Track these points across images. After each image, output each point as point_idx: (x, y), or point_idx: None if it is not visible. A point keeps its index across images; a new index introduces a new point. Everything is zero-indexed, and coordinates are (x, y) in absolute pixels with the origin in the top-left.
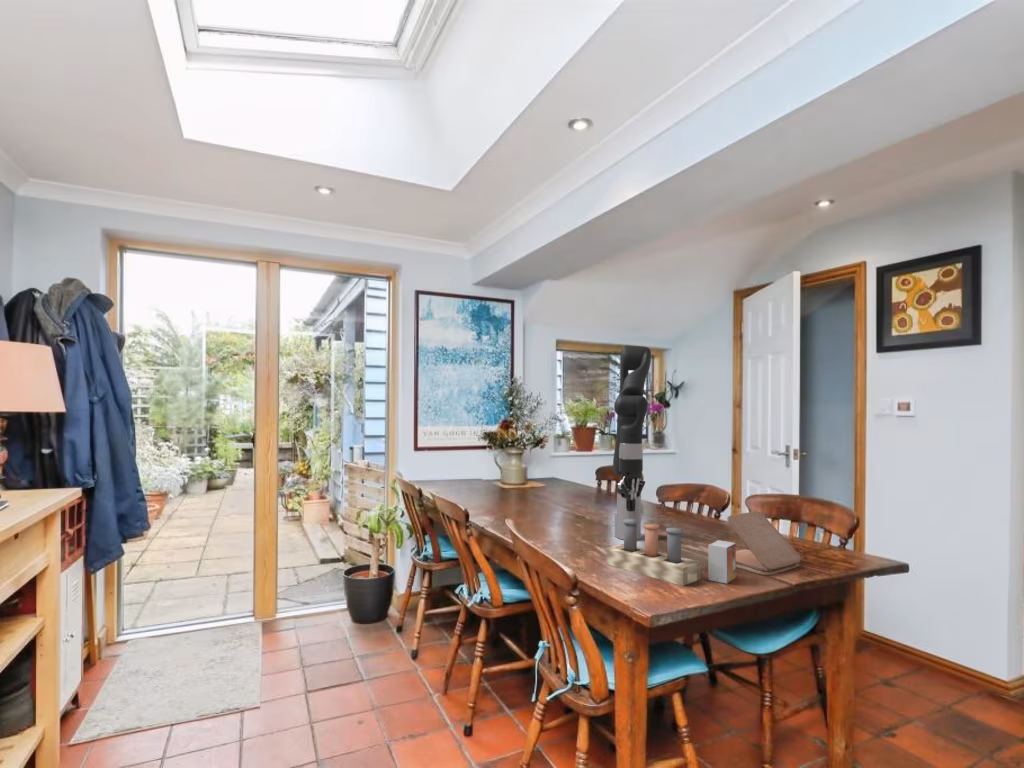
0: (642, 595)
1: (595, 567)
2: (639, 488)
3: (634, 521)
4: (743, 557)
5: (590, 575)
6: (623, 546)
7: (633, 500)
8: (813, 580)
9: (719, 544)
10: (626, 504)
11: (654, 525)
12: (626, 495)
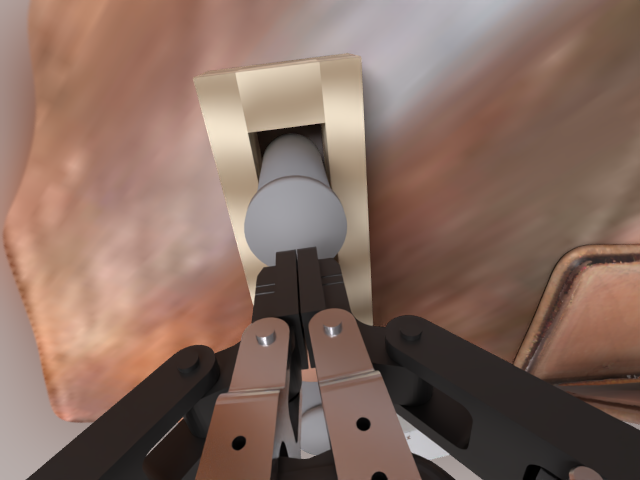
0: (126, 351)
1: (133, 87)
2: (474, 465)
3: None
4: (618, 306)
5: (56, 161)
6: (306, 103)
7: (307, 365)
8: None
9: (425, 444)
10: (255, 298)
11: (315, 369)
12: (166, 449)
